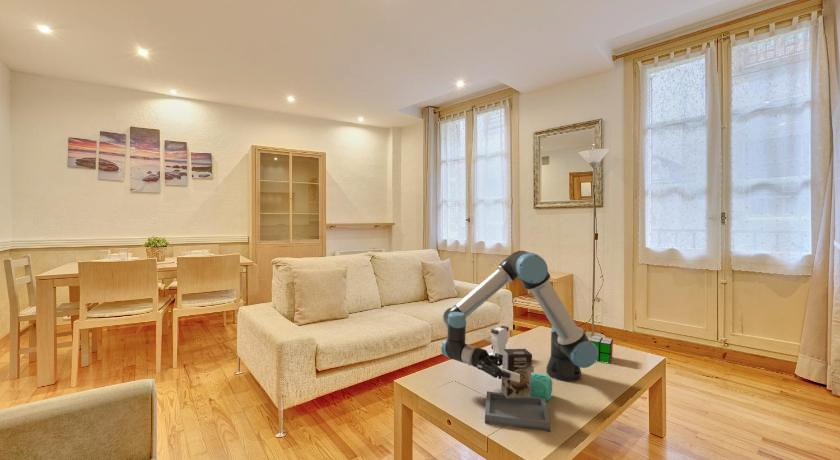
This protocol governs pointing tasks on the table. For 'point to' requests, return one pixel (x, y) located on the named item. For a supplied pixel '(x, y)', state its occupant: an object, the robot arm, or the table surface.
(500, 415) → the tray
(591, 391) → the table surface
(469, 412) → the table surface
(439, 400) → the table surface
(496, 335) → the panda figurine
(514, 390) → the coffee box
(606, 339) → the puzzle cube
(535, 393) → the decorative dice
